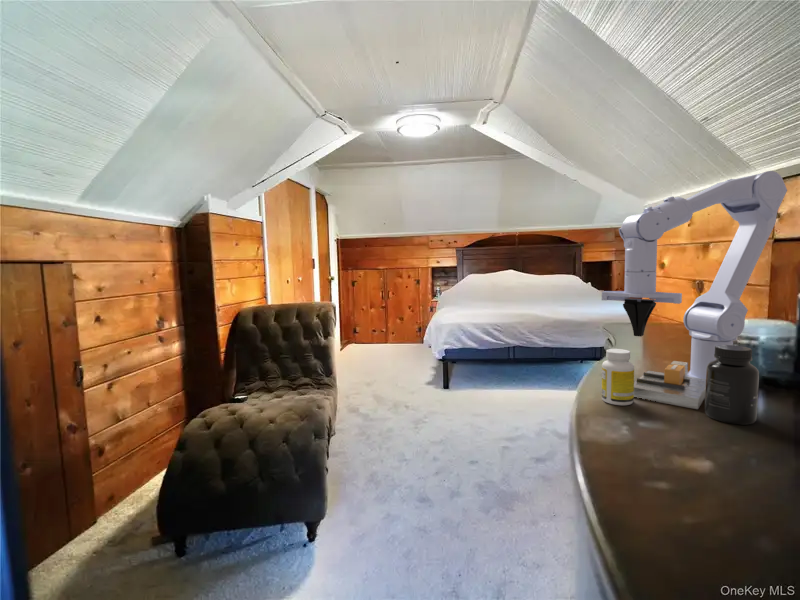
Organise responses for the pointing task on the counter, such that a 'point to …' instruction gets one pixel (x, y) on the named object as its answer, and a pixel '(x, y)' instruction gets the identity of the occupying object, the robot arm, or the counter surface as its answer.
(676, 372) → the orange cuboid
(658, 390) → the strip
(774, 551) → the counter surface
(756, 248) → the robot arm
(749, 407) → the supplement bottle
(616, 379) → the supplement bottle
